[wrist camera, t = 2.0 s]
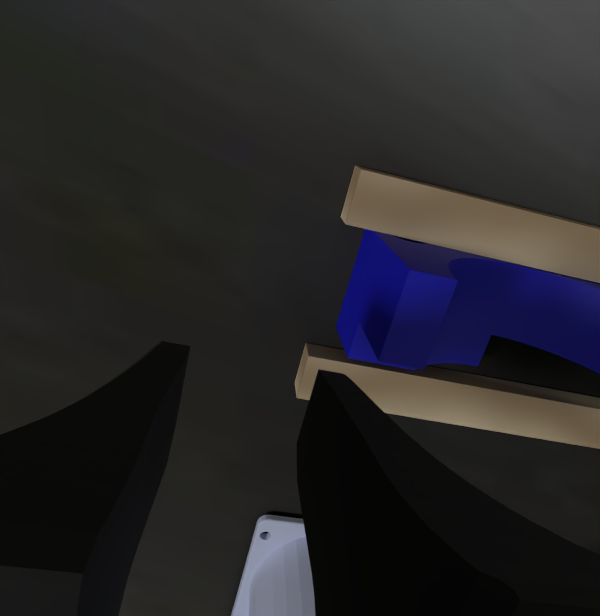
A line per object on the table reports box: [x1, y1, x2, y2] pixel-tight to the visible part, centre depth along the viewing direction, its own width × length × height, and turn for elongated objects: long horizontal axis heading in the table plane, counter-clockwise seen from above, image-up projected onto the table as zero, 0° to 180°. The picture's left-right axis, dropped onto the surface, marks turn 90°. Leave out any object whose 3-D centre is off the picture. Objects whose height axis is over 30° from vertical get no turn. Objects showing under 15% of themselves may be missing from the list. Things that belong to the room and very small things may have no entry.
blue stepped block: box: [336, 229, 600, 374], centre depth 19 cm, size 12×4×6 cm, turn 76°
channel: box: [295, 165, 600, 449], centre depth 21 cm, size 10×21×4 cm, turn 76°
